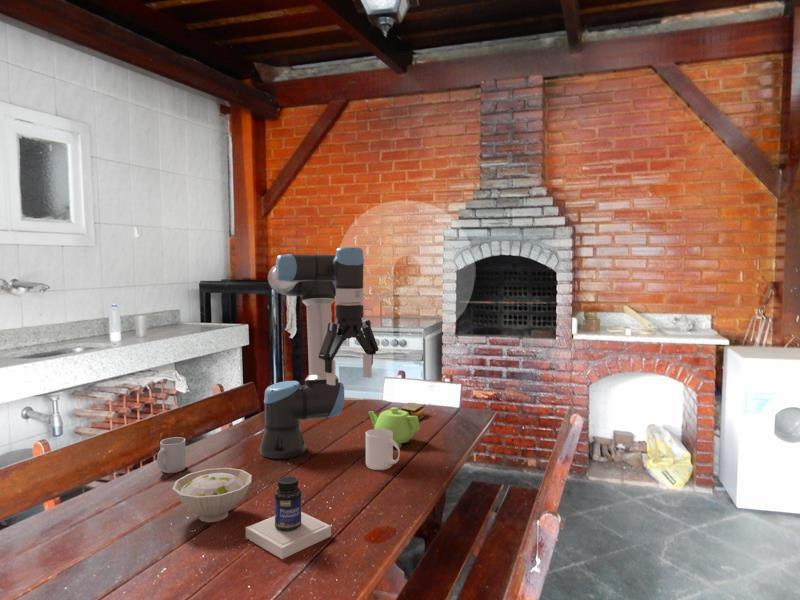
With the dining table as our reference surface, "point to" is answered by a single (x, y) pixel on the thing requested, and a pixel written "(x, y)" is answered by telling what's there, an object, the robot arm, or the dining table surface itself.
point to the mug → (380, 449)
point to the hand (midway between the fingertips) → (349, 380)
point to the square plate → (288, 535)
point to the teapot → (396, 424)
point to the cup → (172, 455)
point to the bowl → (212, 491)
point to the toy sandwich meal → (414, 410)
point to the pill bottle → (287, 504)
